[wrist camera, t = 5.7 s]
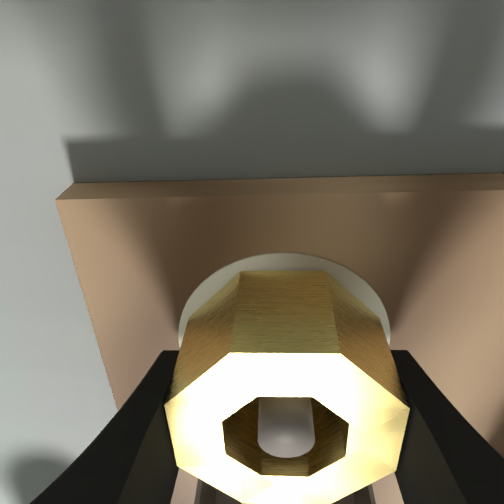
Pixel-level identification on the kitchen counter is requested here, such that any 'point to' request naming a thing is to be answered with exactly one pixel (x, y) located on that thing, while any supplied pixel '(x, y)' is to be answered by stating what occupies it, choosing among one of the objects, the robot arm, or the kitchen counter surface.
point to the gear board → (301, 259)
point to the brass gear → (286, 389)
